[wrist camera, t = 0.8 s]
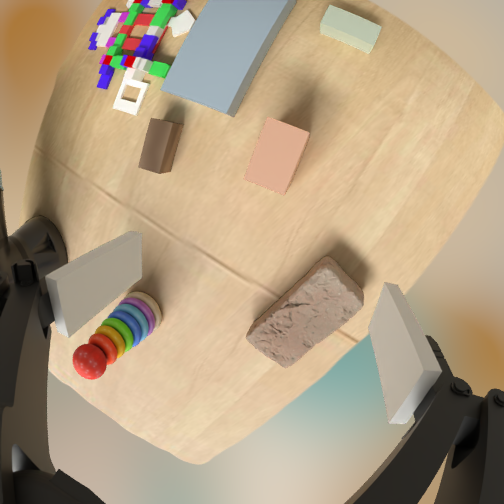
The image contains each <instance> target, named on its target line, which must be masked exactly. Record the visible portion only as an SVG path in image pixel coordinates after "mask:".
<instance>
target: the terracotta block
mask: <svg viewBox="0 0 504 504" xmlns="http://www.w3.org/2000/svg"><path fill="white" fill-rule="evenodd" d="M309 136H310V133H309V132H307V131H304V130H302V129H299V128H297V127H294V126H292V125H289V124H286V123H284V122H281V121H278V120H276V119H273V118H270V117H267V119H266V121H265V124H264V127H263V129H262V132H261V134H260V137H259V139H258V142H257V145H256V147H255V150H254V152H253V155H252V158H251V160H250V163H249V165H248V168H247V171H246V173H245V176H244V180H247V181H249V182H252V183H255V184H257V185H260V186H262V187H265V188H267V189H269V190H272V191H274V192H277V193H279V194H282V195H285V193H286V192H287V190H288V188H289V187H290V184H291V182H292V179H293V177H294V175H295V172H296V170H297V167H298V165H299V162H300V160H301V157H302V155H303V152H304V150H305V148H306V145H307V143H308V140H309Z"/></svg>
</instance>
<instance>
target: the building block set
mask: <svg viewBox="0 0 504 504" xmlns="http://www.w3.org/2000/svg"><path fill="white" fill-rule="evenodd" d="M186 3H187V1H186V0H128V2H127V4H126V6H127V7H128V8H129V10H128V11H129V12H123V13H114V12H115V9H108V10H107V12H106V14H105V16H104V17H101V18H100V19H99V21H98V23H97V25H99V27H98V29H97V31H96V33H92V35H91V38H90V40H89V41H92V42H91V44H90V46H89V48H88V49H90V50H96V48H97V46H102V47H110V48H109V50H108V52H107V54H106V55H103V56H102V58H101V60H100V63H99V64H102V66H101V68H100V71H99V74H102V75H101V77H100V80H99V82H98V85H97V87H99V88H103V89H107V88H108V86H109V83H110V81H111V78H112V76H113V73H114V68H118V69H123V70H126V72H125V75H124V79H123V82H122V84H121V87H120V89H119V92H118V94H117V97H116V100H115V102H114V105H113V108H114V109H117V110H121V111H124V112H127V113H130V114H133V115H136V116H138V113H139V111H140V108H141V106H142V103H143V100H144V98H145V95H146V93H147V91H148V88H149V86H150V84H148V83H144V82H142V80H143V78H144V75H145V72H146V73H148V74H151V75H154V76H158V77H162V78H166V76H167V74H168V72H169V70H170V68H171V66H170V65H169V64H166V63H161V62H157V61H154V62H152V61H151V60H152V58H153V56H154V54H155V51H156V49H157V47H158V45H159V43H160V41H161V39H162V37H163V36H164V34H165V32H166V30H167V28H168V27H171V28H172V34H173V36H174V37H176V36H178V35H181V34H183V33H186V32H188V31H190V30H191V28H192V27H193V25H194V23H195V22H196V21H195V19H194V18H193V16H192V15H191V13H190V12H189V11H188V10H186V11H185V12H183V13H182V14H180V15H179V16H177V17H174V15H175V14H176V12H177V10H182V9H183V8H184V6H185V4H186ZM145 7H146V8H153V7H158V8H159V9H158V10H157V12H156V14H155V15H153V14H141V13H142V11H143V10H144V8H145ZM119 22H124V24H123V26H122V28H121V30H120V32H119V34H118V36H117V38H114V37H112V35H113V33H114V31H115V29H116V27H117V25H118V24H119ZM135 25H144V26H150V27H149V29H148V31H147V33H146V34H144V36H143V38H142V39H135V38H129V36H130V34H131V32H132V30H133V28H134V26H135ZM123 49H125V50H132V51H135V52H134V54H133V56H129V55H124V56H121V54H122V51H123ZM127 85H130V86H134V87H138V88H142V89H141V91H140V93H139V96H138V98H137V101H136V103H134V102H131V101H128V100H124V99H122V98H123V95H124V92H125V90H126V87H127Z"/></svg>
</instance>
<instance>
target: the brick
mask: <svg viewBox="0 0 504 504" xmlns="http://www.w3.org/2000/svg"><path fill="white" fill-rule="evenodd" d="M363 302H364V294H363V291H362V290H361V289H360V287H359V286H358V284H357V283H356V282H355V281H354V280H352V279H351V278H350V277H349V276H348V275H347V274H346V273H345V272H344V271H343V269H342V268H341V267H340V266H339V264H338V263H337V262H336V261H335V260H333V259H332V258H331V257H329V256H325V257H324V258H322V259H321V260H320V261H319V262H317V263H316V264H315V265H314V266H313V267H312V268H311V269H310V270H309V272H308V273H307V275H306V276H304V277H303V278H302V279H301V280H299V281H298V282H297V283H296V284H295V285H294V286H293V288H292V289H290V290H289V291H287V292H286V293H285V294H284V295H283V296H282V297H281V298H280V299H279V300H278V301H277V302H276V303H274V304H273V305H272V306H271V307H270V308H269V309H268V310H267V311H266V312H265V313H264V314H263V315H262V316H261V317H260V318H259V319H257V320H256V321H255V322H254V323H253V324H252V325H251V327H250V329H249V331H248V333H247V335H246V339H247V341H248V342H249V343H251V344H252V345H253V346H254V347H255V348H256V349H258V350H259V351H260V352H261V353H263V354H264V355H265V356H267V357H268V358H270V359H272V360H274V361H275V362H277V363H278V364H280V365H281V366H282V367H284V368H287V367H288V366H291V365H293V364H294V363H295V362H297V361H298V360H299V359H300V358H301V357H302V356H303V355H304V354H306V353H307V352H308V351H309V350H310V349H312V348H313V346H314V345H315V344H317V343H319V342H321V341H322V340H324V339H325V338H326V337H328V336H329V335H330V334H332V333H333V332H334V331H336V330H337V329H338V328H340V327H341V326H342V325H344V324H345V323H346V322H347V321H348V320H349V319H350V318H352V317H353V316H354V315H355V314H356V313H357V312H358V311H359V310H361V308H362V307H363Z"/></svg>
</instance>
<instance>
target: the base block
mask: <svg viewBox="0 0 504 504" xmlns="http://www.w3.org/2000/svg"><path fill="white" fill-rule="evenodd" d="M295 4H296V0H209V1H208V2H207V4H206V5H205V7H204V8H203V10H202V12H201V13H200V15H199V17H198V18H197V20H196V22H195V23H194V25H193V27H192V28H191V30H190V32H189V34H188V36H187V37H186V39H185V41H184V43H183V45H182V47H181V48H180V50H179V52H178V54H177V56H176V58H175V60H174V62H173V64H172V66H171V68H170V70H169V72H168V74H167V76H166V78H165V81H164V83H163V85H162V87H161V89H160V90H162V91H165V92H167V93H170V94H173V95H176V96H179V97H182V98H185V99H188V100H190V101H193V102H196V103H199V104H201V105H204V106H207V107H209V108H212V109H214V110H217V111H220V112H222V113H225V114H227V115H230V116H232V117H234V116H235V114H236V112H237V110H238V108H239V106H240V104H241V102H242V100H243V98H244V96H245V94H246V92H247V90H248V88H249V86H250V84H251V82H252V80H253V78H254V76H255V74H256V72H257V70H258V69H259V67H260V65H261V63H262V61H263V59H264V57H265V56H266V54H267V52H268V50H269V48H270V47H271V45H272V43H273V41H274V39H275V38H276V36H277V34H278V32H279V31H280V29H281V27H282V26H283V24H284V22H285V20H286V19H287V17H288V15H289V14H290V12H291V10H292V9H293V7H294V6H295Z"/></svg>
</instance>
